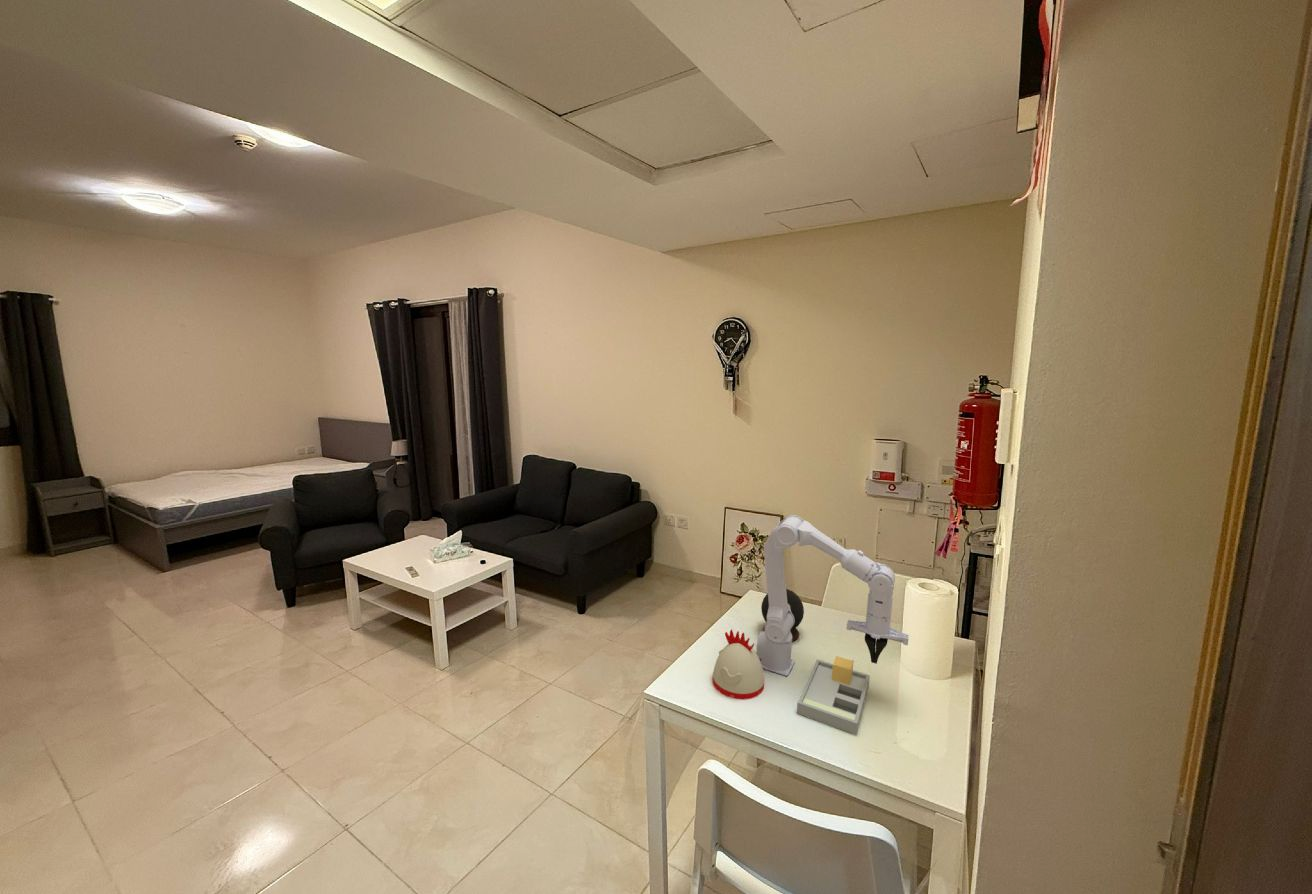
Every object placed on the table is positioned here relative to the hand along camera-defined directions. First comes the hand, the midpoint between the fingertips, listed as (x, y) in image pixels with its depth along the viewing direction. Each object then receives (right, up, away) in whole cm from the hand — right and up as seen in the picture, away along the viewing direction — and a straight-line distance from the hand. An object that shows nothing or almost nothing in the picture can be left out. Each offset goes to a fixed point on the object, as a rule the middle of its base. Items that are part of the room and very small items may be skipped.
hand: (874, 661), depth 129 cm
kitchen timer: (-34, -9, +6) cm, 36 cm away
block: (-7, -7, +5) cm, 11 cm away
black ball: (-17, -4, +30) cm, 35 cm away
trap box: (-10, -10, 0) cm, 14 cm away
